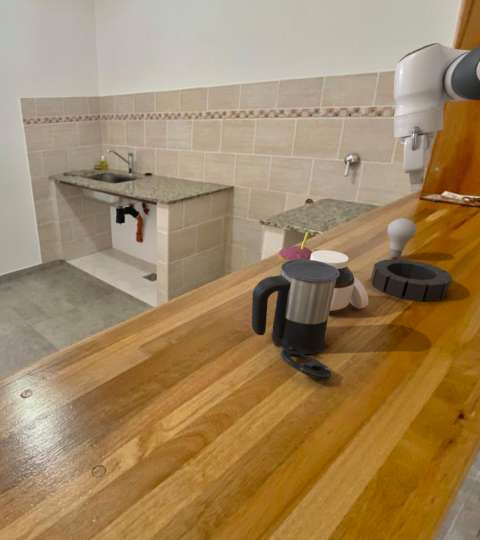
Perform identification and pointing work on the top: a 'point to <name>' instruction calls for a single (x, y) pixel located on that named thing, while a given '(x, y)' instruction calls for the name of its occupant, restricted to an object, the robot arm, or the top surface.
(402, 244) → the lightbulb
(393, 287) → the tire
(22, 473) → the top surface
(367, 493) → the top surface
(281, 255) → the cupcake
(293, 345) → the milk frother
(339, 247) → the top surface
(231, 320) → the top surface
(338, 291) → the spread jar
